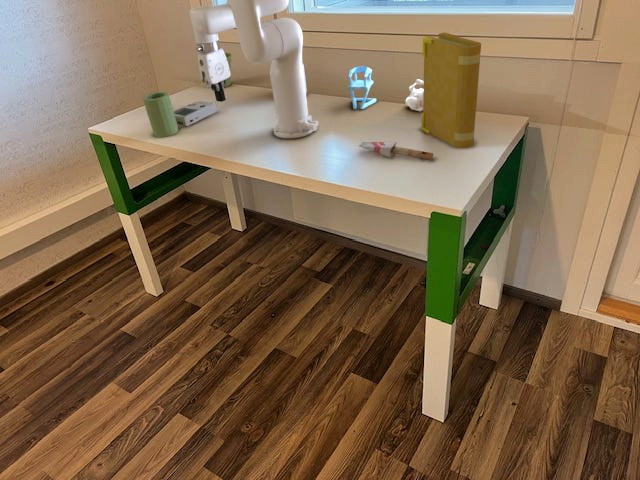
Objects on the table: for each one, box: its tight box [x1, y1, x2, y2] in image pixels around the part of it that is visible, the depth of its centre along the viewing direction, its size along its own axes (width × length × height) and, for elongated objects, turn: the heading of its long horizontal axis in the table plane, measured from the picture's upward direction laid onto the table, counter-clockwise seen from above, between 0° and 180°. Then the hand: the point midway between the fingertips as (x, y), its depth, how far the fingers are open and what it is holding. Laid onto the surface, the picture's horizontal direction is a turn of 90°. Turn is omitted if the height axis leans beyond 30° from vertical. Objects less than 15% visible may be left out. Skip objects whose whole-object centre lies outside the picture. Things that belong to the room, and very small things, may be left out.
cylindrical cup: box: [142, 91, 179, 138], centre depth 156 cm, size 8×8×12 cm
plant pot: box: [214, 52, 233, 88], centre depth 193 cm, size 12×12×11 cm
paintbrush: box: [358, 141, 434, 161], centre depth 127 cm, size 4×3×20 cm
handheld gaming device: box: [173, 100, 218, 127], centre depth 166 cm, size 9×15×4 cm, turn 146°
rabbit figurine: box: [405, 78, 424, 112], centre depth 150 cm, size 12×8×10 cm, turn 54°
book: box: [420, 32, 482, 149], centre depth 127 cm, size 17×7×25 cm, turn 23°
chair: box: [347, 65, 377, 110], centre depth 158 cm, size 8×8×12 cm
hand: (221, 100), depth 174 cm, fingers closed
